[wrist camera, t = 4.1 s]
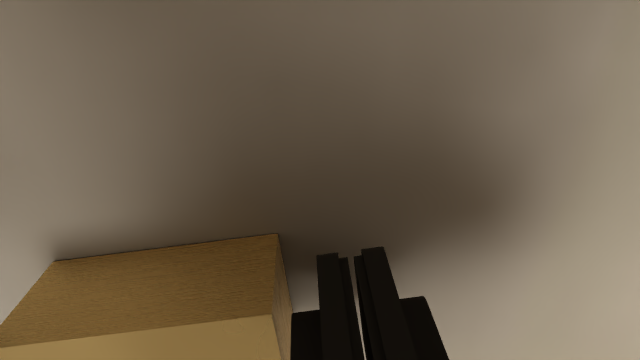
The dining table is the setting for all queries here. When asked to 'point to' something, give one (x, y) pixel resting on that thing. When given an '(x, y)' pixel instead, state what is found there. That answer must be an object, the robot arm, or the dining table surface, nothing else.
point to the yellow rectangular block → (158, 306)
